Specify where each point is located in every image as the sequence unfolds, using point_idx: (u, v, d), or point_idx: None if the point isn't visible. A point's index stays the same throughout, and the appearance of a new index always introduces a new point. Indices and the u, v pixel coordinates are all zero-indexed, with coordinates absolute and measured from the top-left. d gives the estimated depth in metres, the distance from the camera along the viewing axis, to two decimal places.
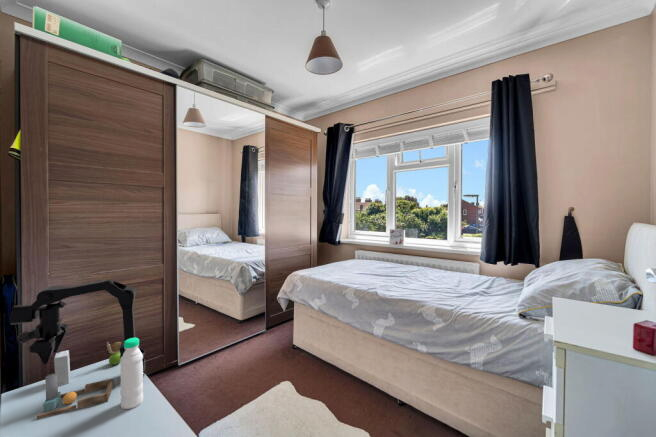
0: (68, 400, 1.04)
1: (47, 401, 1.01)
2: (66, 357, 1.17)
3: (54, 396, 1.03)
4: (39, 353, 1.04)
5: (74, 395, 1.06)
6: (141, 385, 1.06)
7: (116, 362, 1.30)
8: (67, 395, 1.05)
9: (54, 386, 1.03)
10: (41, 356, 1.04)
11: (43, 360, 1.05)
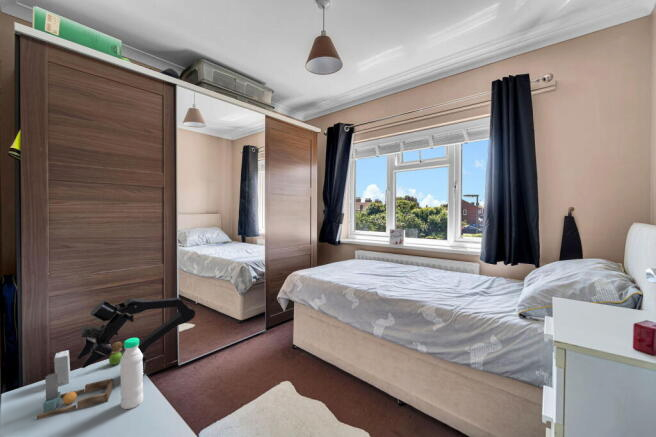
0: (68, 400, 1.04)
1: (47, 401, 1.01)
2: (66, 357, 1.17)
3: (54, 396, 1.03)
4: (92, 355, 1.07)
5: (74, 395, 1.06)
6: (141, 385, 1.06)
7: (116, 362, 1.30)
8: (67, 395, 1.05)
9: (54, 386, 1.03)
10: (89, 358, 1.07)
11: (86, 363, 1.06)
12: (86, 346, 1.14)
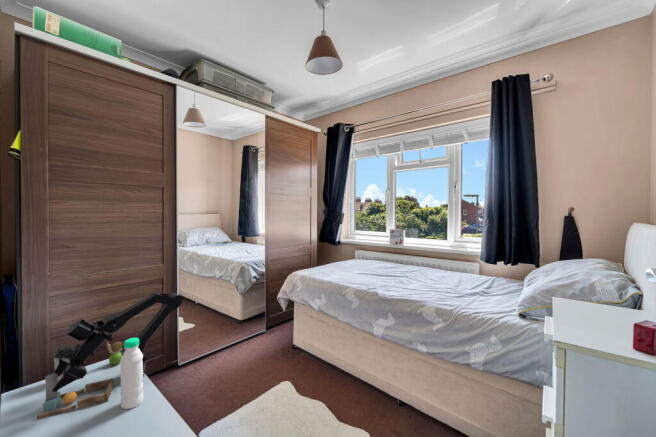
0: (68, 400, 1.04)
1: (47, 401, 1.01)
2: None
3: (54, 396, 1.03)
4: (64, 377, 1.01)
5: (74, 395, 1.06)
6: (141, 385, 1.06)
7: (116, 362, 1.30)
8: (67, 395, 1.05)
9: (54, 386, 1.03)
10: (61, 381, 1.01)
11: (57, 386, 1.00)
12: (59, 367, 1.08)
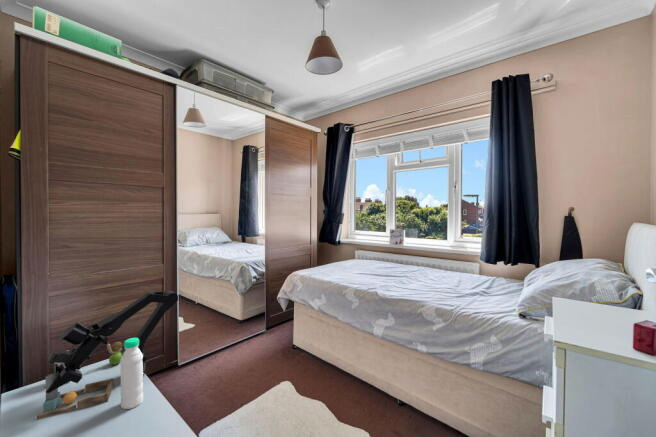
0: (68, 400, 1.04)
1: (47, 401, 1.01)
2: None
3: (54, 396, 1.03)
4: (58, 379, 1.02)
5: (74, 395, 1.06)
6: (141, 385, 1.06)
7: (116, 362, 1.30)
8: (67, 395, 1.05)
9: None
10: (55, 383, 1.02)
11: (51, 387, 1.01)
12: None
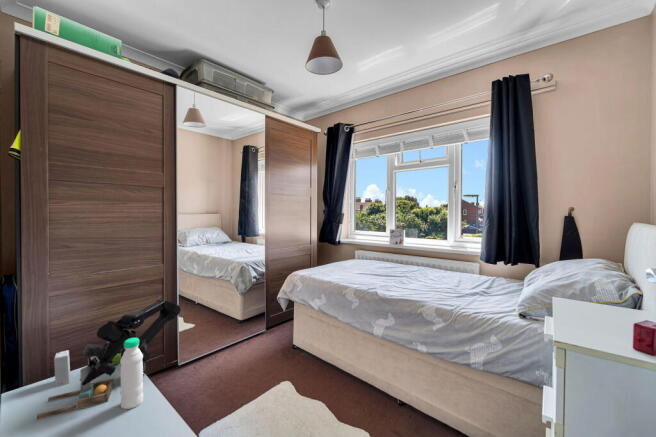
0: (98, 393, 1.08)
1: (82, 393, 1.06)
2: (66, 357, 1.17)
3: (88, 388, 1.07)
4: (93, 372, 1.07)
5: (97, 388, 1.09)
6: (141, 385, 1.06)
7: (116, 362, 1.30)
8: (95, 394, 1.09)
9: None
10: (90, 375, 1.06)
11: (86, 380, 1.06)
12: None
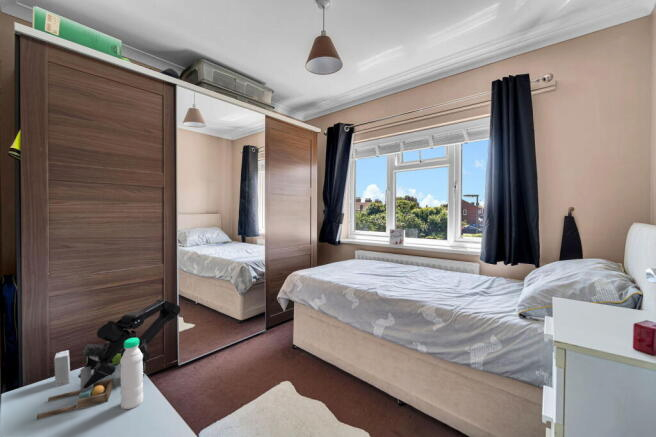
0: (95, 394, 1.08)
1: (82, 393, 1.06)
2: (66, 357, 1.17)
3: (88, 388, 1.07)
4: (94, 374, 1.05)
5: (92, 391, 1.08)
6: (141, 385, 1.06)
7: (116, 362, 1.30)
8: None
9: (88, 378, 1.07)
10: (91, 378, 1.05)
11: (88, 383, 1.04)
12: (88, 365, 1.12)
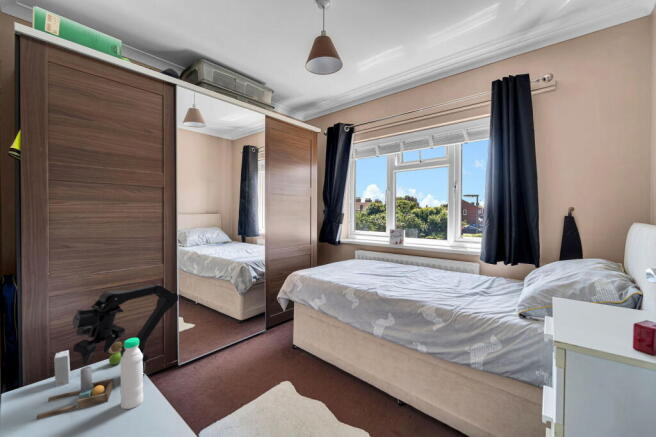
0: (95, 394, 1.08)
1: (82, 393, 1.06)
2: (66, 357, 1.16)
3: (88, 388, 1.07)
4: None
5: (92, 391, 1.08)
6: (141, 385, 1.06)
7: (116, 362, 1.30)
8: None
9: (88, 378, 1.07)
10: (82, 356, 1.08)
11: (83, 360, 1.09)
12: (106, 340, 1.19)
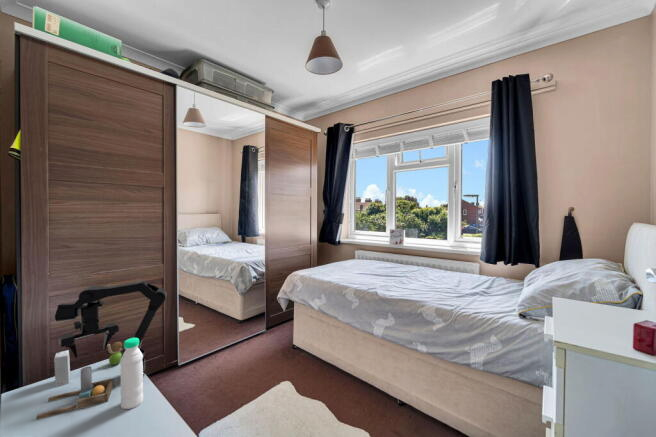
0: (95, 394, 1.08)
1: (82, 393, 1.06)
2: (66, 357, 1.16)
3: (88, 388, 1.07)
4: None
5: (92, 390, 1.08)
6: (141, 385, 1.06)
7: (116, 362, 1.30)
8: None
9: (88, 378, 1.07)
10: None
11: (73, 353, 1.13)
12: (104, 337, 1.21)
